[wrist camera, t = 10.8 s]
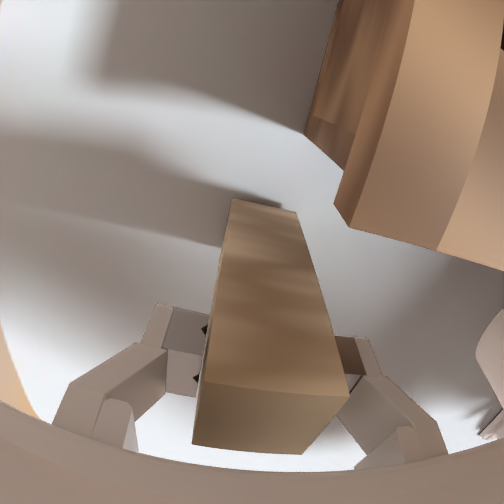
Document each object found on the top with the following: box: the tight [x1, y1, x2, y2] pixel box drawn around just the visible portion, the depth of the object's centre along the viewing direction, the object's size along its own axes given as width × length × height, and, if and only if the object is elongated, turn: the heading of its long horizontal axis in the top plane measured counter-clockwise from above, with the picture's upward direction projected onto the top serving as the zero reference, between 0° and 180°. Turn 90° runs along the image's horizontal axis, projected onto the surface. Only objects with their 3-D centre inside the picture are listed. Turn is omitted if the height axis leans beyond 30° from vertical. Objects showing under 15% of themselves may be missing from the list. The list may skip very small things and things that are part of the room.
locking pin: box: [192, 198, 350, 455], centre depth 11 cm, size 3×3×10 cm
